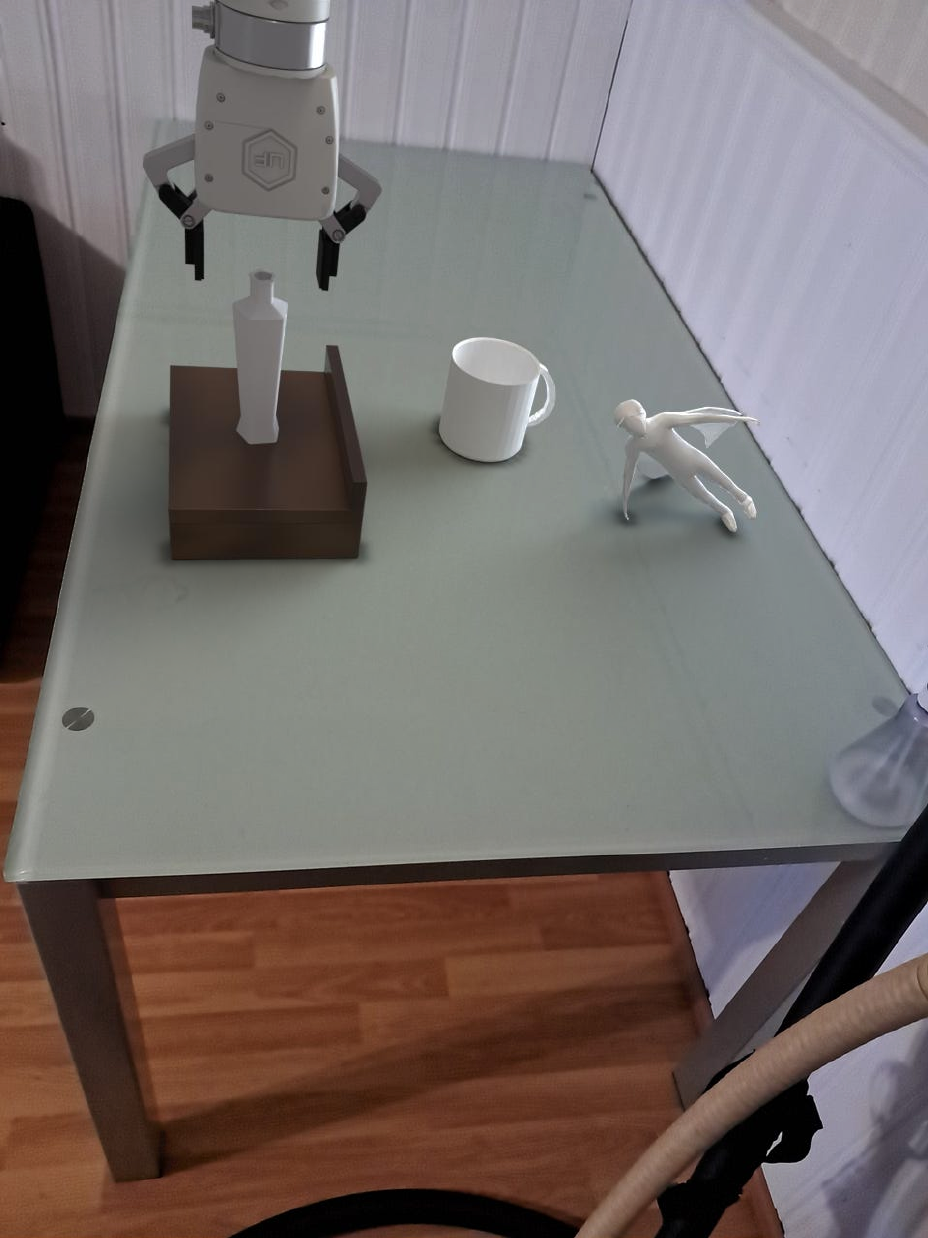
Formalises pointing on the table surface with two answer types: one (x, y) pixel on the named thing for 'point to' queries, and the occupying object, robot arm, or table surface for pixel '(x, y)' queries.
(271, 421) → the perfume bottle
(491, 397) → the mug
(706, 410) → the figurine
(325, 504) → the wooden display stand
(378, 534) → the table surface
